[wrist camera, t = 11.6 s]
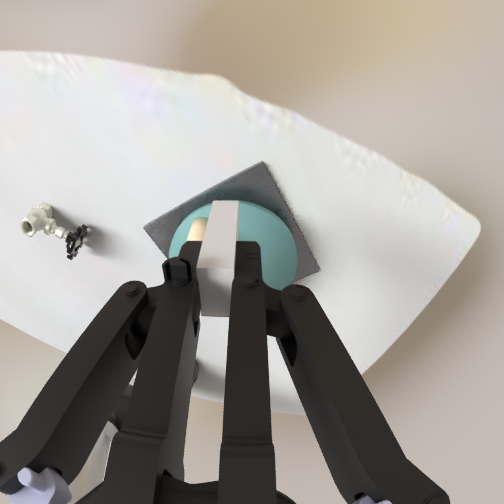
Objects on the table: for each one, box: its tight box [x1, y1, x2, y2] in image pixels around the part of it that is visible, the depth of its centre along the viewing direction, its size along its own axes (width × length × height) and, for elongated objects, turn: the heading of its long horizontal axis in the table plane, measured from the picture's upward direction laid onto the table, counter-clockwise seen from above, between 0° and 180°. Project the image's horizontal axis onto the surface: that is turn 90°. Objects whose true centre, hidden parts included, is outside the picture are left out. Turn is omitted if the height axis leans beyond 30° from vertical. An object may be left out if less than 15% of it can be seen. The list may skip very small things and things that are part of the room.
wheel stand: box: [144, 161, 319, 283], centre depth 49 cm, size 22×22×3 cm
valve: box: [21, 202, 88, 260], centre depth 44 cm, size 7×7×12 cm
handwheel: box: [169, 200, 298, 291], centre depth 45 cm, size 20×20×7 cm
